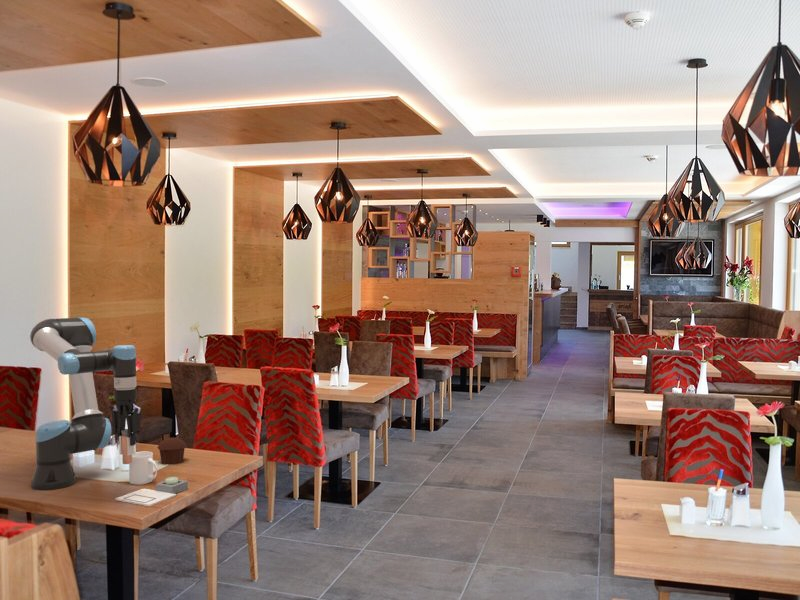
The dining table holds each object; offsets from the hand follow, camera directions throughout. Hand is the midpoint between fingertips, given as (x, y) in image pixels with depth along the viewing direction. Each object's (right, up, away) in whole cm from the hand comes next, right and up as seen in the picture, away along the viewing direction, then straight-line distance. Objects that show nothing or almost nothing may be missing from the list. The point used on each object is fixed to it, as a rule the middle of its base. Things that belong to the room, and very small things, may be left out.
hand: (127, 453), depth 253 cm
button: (+13, -14, +8) cm, 21 cm away
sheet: (+7, -16, -1) cm, 17 cm away
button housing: (+13, -15, +8) cm, 22 cm away
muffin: (+1, -14, +48) cm, 50 cm away
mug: (0, -15, +18) cm, 24 cm away
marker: (0, -3, 0) cm, 3 cm away
